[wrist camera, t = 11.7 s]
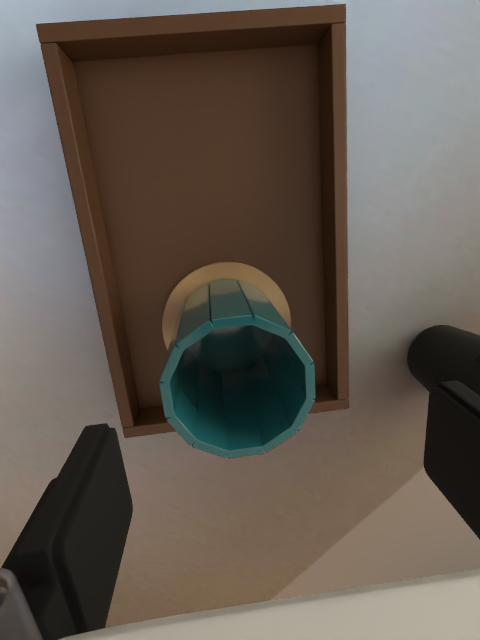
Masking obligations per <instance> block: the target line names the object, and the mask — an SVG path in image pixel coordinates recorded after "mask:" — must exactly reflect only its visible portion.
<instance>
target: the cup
mask: <svg viewBox="0 0 480 640" xmlns="http://www.w3.org/2000/svg"><path fill="white" fill-rule="evenodd" d="M159 386H160V391H161V397H162V403H163V409H164V415H165V418H167V421H168V422H169V423H170V425H171V426H172V427H173V428H174V429H175V430H176V431H177V432H178V433H179V434H180V436H181V437H182V438H183V439H184V440H185V441H186V442H187V443H188V444H189V445H192V447H193V448H196V449H199V450H202V451H205V452H208V453H211V454H214V455H217V456H220V457H223V458H226V457H227V455H228V458H236V457H243V456H250V455H258V454H264V450H265V451H266V452H268V451H270V450H271V449H273V448H274V447H276V446H277V445H279V444H281V443H282V442H284V441H285V440H287V439H288V438H290V437H291V436H293V435H294V434H296V431H295V430H297V431H298V430H299V429H300V427H301V425H302V423H303V421H304V420H305V418H306V416H307V414H308V412H309V411H310V409H311V407H312V405H313V403H314V402H315V400H314V398H315V397H316V394H315V367H314V363H313V360H312V358H311V357H310V355H309V354H308V353H307V351H306V350H305V348H304V347H303V345H302V344H301V343H300V341H299V340H298V338H297V337H296V336H295V334H294V333H293V331H292V330H291V329H290V327H289V326H288V325H287V323H286V322H285V321H284V319H283V318H282V316H281V315H280V314H279V312H278V311H277V310H276V308H275V307H274V306H273V304H272V303H271V302H270V300H269V299H268V297H267V296H266V295H265V293H264V292H263V291H261V289H259V288H257V287H255V286H253V285H252V284H250V283H247V282H245V281H242V280H237V279H219V280H214V281H211V282H208V283H206V284H204V285H202V286H200V287H199V288H197V289H196V290H195V291H194V292H193V293H192V294H191V295H190V296H189V297H187V299H186V300H185V302H184V304H183V306H182V308H181V310H180V313H179V316H178V318H177V320H176V323H175V327H174V330H173V334H172V337H171V341H170V344H169V348H168V351H167V355H166V359H165V362H164V366H163V369H162V373H161V376H160V383H159Z"/></svg>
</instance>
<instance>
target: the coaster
mask: <svg viewBox="0 0 480 640" xmlns="http://www.w3.org/2000/svg"><path fill="white" fill-rule="evenodd" d="M219 279H237V280H242V281H245V282H247V283H250V284H252V285H253V286H255V287H257V288H259V289H261V291H263V292H264V293H265V295H266V296H267V297H268V299H269V300H270V302H271V303H272V304H273V306H274V307H275V308H276V310H277V311H278V312H279V314H280V315H281V316H282V318H283V319H284V321H285V322H286V323H287V325H288V326H289V327H290V329H291V315H290V310H289V306H288V303H287V300H286V298H285V296H284V294H283V292H282V291H281V289H280V288H279V287H278V285H277V284H276V283H275V282H274V281H273V280H272V279H271V278H270V277H269V276H267V275H266V274H265V273H263V272H262V271H260V270H258V269H256V268H254V267H252V266H249V265H246V264H242V263H237V262H218V263H212V264H209V265H206V266H203V267H201V268H198V269H196V270H194V271H193V272H191V273H190V274H188V275H187V276H186V277H185V278H183V279H182V280H181V281H180V282H179V283H178V284H177V286H176V287H175V288H174V290H173V291H172V293H171V294H170V296H169V298H168V300H167V302H166V305H165V308H164V312H163V317H162V332H163V338H164V342H165V345H166V347H167V350H168V348H169V344H170V341H171V337H172V334H173V330H174V327H175V323H176V320H177V318H178V316H179V313H180V310H181V308H182V306H183V304H184V302H185V300H186V299H187V297H189V296H190V295H191V294H192V293H193V292H194V291H195V290H196V289H197V288H199V287H200V286H202V285H204V284H206V283H208V282H211V281H214V280H219Z"/></svg>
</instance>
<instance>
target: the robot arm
mask: <svg viewBox="0 0 480 640" xmlns="http://www.w3.org/2000/svg"><path fill="white" fill-rule="evenodd" d="M424 468H425V471H426V473H427V475H428V476H429V477H430V479H431V480H432V481H433V482H434V484H435V485H436V486H437V487H438V488H439V490H440V491H441V492H442V493H443V495H444V496H445V497H446V498H447V500H448V501H449V502H450V503H451V505H452V506H453V507H454V508H455V509H456V511H457V512H458V513H459V514H460V515H461V517H462V518H463V519H464V521H465V522H466V523H467V524H468V525H469V527H470V528H471V529H472V530H473V532H474V533H475V534H476V535H477V537H478V538H479V539H480V396H479V395H478V394H477V393H475V392H474V391H472V390H471V389H469V388H468V387H467V386H465V385H464V384H462V383H461V382H459V381H449V382H441V383H437V384H436V385H435V386H434V388H432V389H431V390H430V393H429V404H428V416H427V428H426V440H425V451H424ZM132 511H133V505H132V499H131V494H130V490H129V485H128V481H127V477H126V472H125V468H124V463H123V459H122V454H121V450H120V446H119V441H118V437H117V432H116V429H115V428H109V426H108V424H106V423H105V424H97V425H89V426H86V427H85V428H84V429H83V431H82V433H81V435H80V437H79V438H78V440H77V442H76V444H75V446H74V447H73V449H72V451H71V453H70V455H69V457H68V458H67V460H66V462H65V464H64V466H63V467H62V469H61V471H60V473H59V475H58V476H57V478H54V479H53V480H52V481H51V482H50V483H49V485H48V486H47V488H46V490H45V492H44V493H43V495H42V497H41V499H40V500H39V502H38V504H37V506H36V507H35V509H34V511H33V513H32V514H31V516H30V518H29V520H28V522H27V523H26V525H25V527H24V529H23V530H22V532H21V534H20V536H19V537H18V539H17V541H16V543H15V544H14V546H13V548H12V550H11V551H10V553H9V555H8V557H7V559H6V560H5V562H4V564H3V566H2V567H1V568H0V640H480V569H475V570H468V571H461V572H454V573H447V574H440V575H433V576H426V577H420V578H413V579H406V580H400V581H393V582H386V583H380V584H374V585H367V586H360V587H353V588H347V589H340V590H334V591H327V592H321V593H314V594H308V595H301V596H294V597H288V598H282V599H275V600H269V601H263V602H257V603H250V604H244V605H238V606H231V607H225V608H219V609H212V610H206V611H200V612H193V613H187V614H181V615H175V616H170V617H164V618H158V619H153V620H147V621H141V622H136V623H130V624H124V625H119V626H113V627H108V628H105V625H106V621H107V617H108V612H109V608H110V604H111V600H112V596H113V592H114V588H115V584H116V579H117V575H118V571H119V567H120V563H121V559H122V555H123V551H124V546H125V542H126V538H127V534H128V530H129V526H130V522H131V518H132Z"/></svg>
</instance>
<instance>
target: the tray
mask: <svg viewBox="0 0 480 640" xmlns="http://www.w3.org/2000/svg"><path fill="white" fill-rule="evenodd" d="M345 22H346V4H340V5H324V6H309V7H293V8H278V9H262V10H247V11H231V12H216V13H200V14H185V15H169V16H153V17H138V18H122V19H107V20H91V21H76V22H60V23H45V24H36V28H37V32H38V37H39V42H40V43H41V50H42V55H43V59H44V64H45V69H46V73H47V78H48V83H49V87H50V92H51V97H52V101H53V106H54V111H55V115H56V120H57V125H58V129H59V134H60V139H61V143H62V148H63V153H64V157H65V162H66V167H67V171H68V176H69V181H70V185H71V190H72V195H73V200H74V204H75V209H76V214H77V218H78V223H79V228H80V232H81V237H82V242H83V246H84V251H85V256H86V260H87V265H88V270H89V274H90V279H91V284H92V288H93V293H94V298H95V302H96V307H97V312H98V316H99V321H100V326H101V330H102V335H103V340H104V344H105V349H106V354H107V359H108V363H109V368H110V373H111V377H112V382H113V387H114V391H115V396H116V401H117V405H118V410H119V415H120V419H121V424H122V427H123V433H124V437H125V438H129V437H136V436H144V435H151V434H159V433H167V432H174V431H176V430H175V429H174V428H173V427H172V426H171V425H170V423H169V422H168V421H167V418H165V415H164V409H163V403H162V397H161V391H160V386H159V383H160V376H161V373H162V369H163V366H164V362H165V359H166V355H167V351H168V350H167V347H166V345H165V342H164V338H163V332H162V317H163V312H164V308H165V305H166V302H167V300H168V298H169V296H170V294H171V293H172V291H173V290H174V288H175V287H176V286H177V284H178V283H179V282H180V281H181V280H182V279H183V278H185V277H186V276H187V275H188V274H190V273H191V272H193V271H194V270H196V269H198V268H201V267H203V266H206V265H209V264H212V263H218V262H237V263H242V264H246V265H249V266H252V267H254V268H256V269H258V270H260V271H262V272H263V273H265V274H266V275H267V276H269V277H270V278H271V279H272V280H273V281H274V282H275V283H276V284H277V285H278V287H279V288H280V289H281V291H282V292H283V294H284V296H285V298H286V300H287V303H288V306H289V310H290V315H291V330H292V331H293V333H294V334H295V336H296V337H297V338H298V340H299V341H300V343H301V344H302V345H303V347H304V348H305V350H306V351H307V353H308V354H309V355H310V357H311V358H312V360H313V363H314V367H315V394H316V397H315V398H314V400H315V402H314V403H313V405H312V407H311V409H310V411H309V412H308V414H310V413H318V412H325V411H333V410H340V409H348V408H349V399H348V398H349V369H348V243H347V117H346V23H345Z"/></svg>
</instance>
